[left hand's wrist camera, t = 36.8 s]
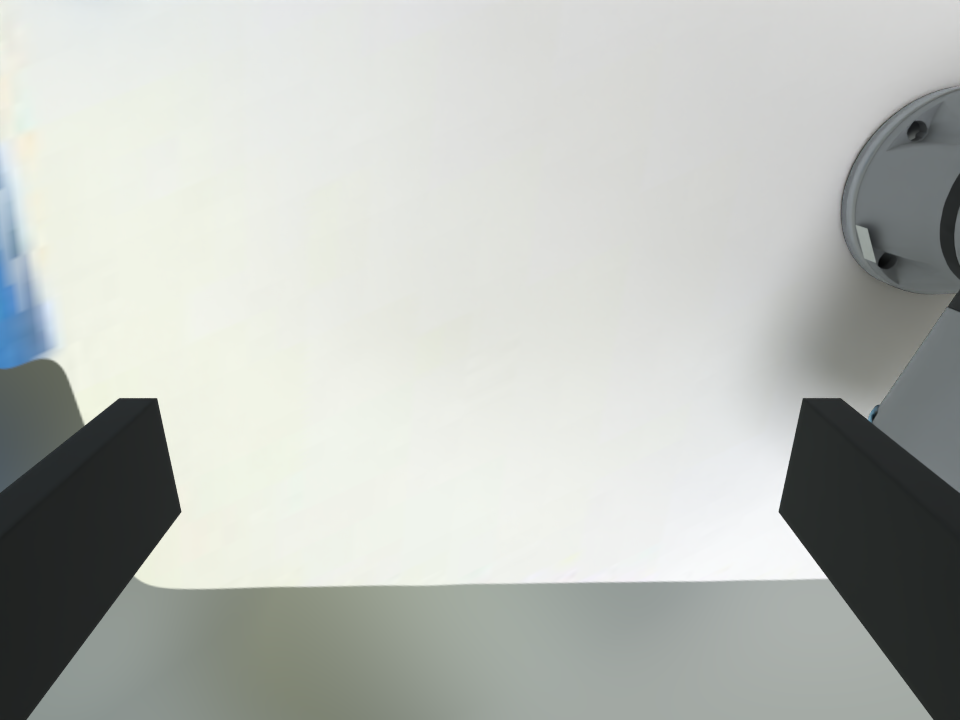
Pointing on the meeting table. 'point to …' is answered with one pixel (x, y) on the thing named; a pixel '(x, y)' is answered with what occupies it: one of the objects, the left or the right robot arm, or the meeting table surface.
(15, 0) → the meeting table surface
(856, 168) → the left robot arm
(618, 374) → the meeting table surface
